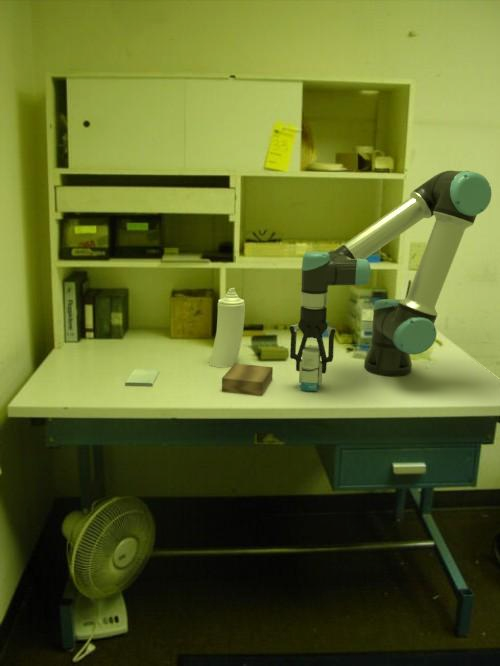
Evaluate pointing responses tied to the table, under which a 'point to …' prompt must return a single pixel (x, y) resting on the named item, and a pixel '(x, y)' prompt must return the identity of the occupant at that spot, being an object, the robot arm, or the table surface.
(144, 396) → the table surface
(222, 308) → the spray can
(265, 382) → the wooden block
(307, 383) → the ink box
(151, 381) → the hard drive
